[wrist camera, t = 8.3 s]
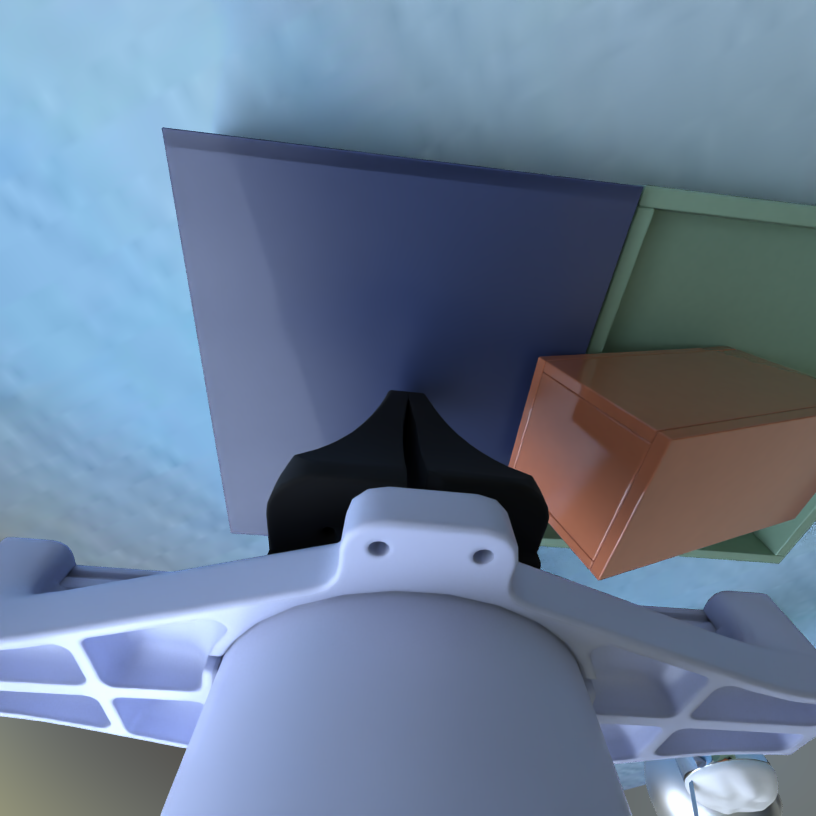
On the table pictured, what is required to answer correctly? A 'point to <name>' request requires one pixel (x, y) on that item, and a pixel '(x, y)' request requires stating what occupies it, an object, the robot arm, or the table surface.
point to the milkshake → (729, 782)
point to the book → (377, 292)
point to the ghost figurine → (685, 793)
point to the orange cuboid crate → (666, 450)
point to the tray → (717, 304)
